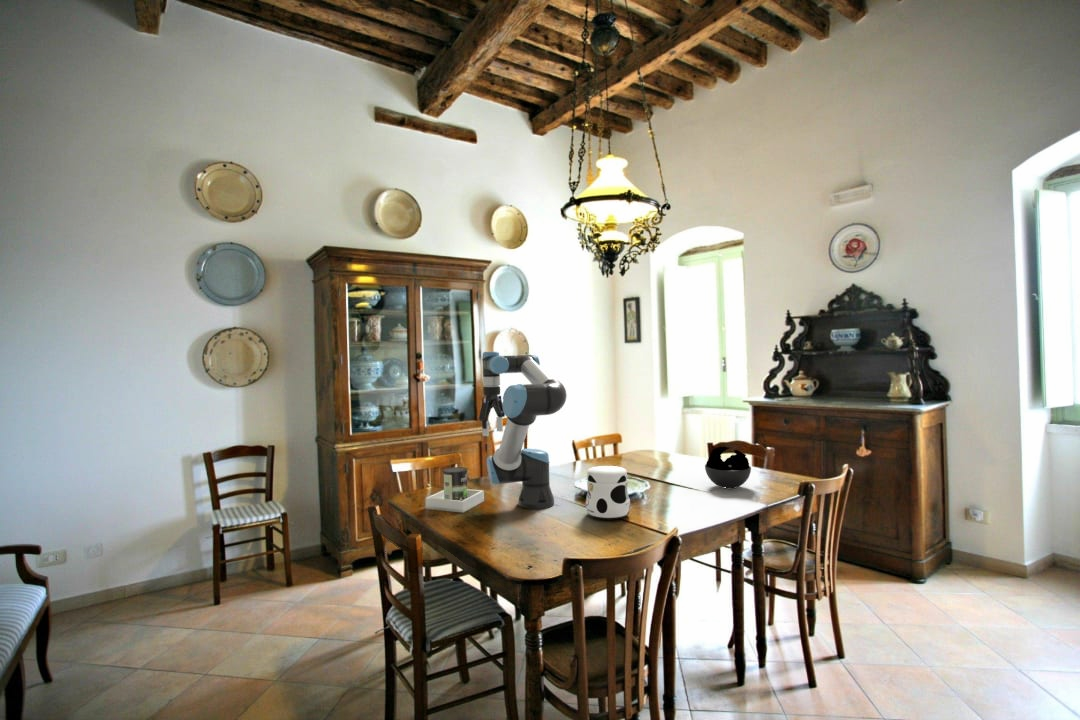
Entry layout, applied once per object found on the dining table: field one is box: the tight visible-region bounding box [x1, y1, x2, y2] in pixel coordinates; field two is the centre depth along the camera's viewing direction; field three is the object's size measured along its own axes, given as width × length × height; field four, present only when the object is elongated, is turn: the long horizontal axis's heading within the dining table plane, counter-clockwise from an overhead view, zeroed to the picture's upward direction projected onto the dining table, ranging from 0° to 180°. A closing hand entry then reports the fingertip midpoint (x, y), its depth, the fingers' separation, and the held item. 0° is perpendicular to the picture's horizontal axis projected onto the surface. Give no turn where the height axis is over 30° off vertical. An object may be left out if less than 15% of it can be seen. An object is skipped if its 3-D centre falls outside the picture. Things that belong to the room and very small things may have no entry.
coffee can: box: [442, 466, 468, 501], centre depth 231 cm, size 10×10×14 cm
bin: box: [425, 488, 485, 514], centre depth 231 cm, size 18×18×4 cm
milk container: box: [585, 465, 631, 520], centre depth 210 cm, size 17×17×18 cm
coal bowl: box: [704, 446, 752, 489], centre depth 247 cm, size 20×20×19 cm
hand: (492, 433), depth 240 cm, fingers open, 13 cm apart
